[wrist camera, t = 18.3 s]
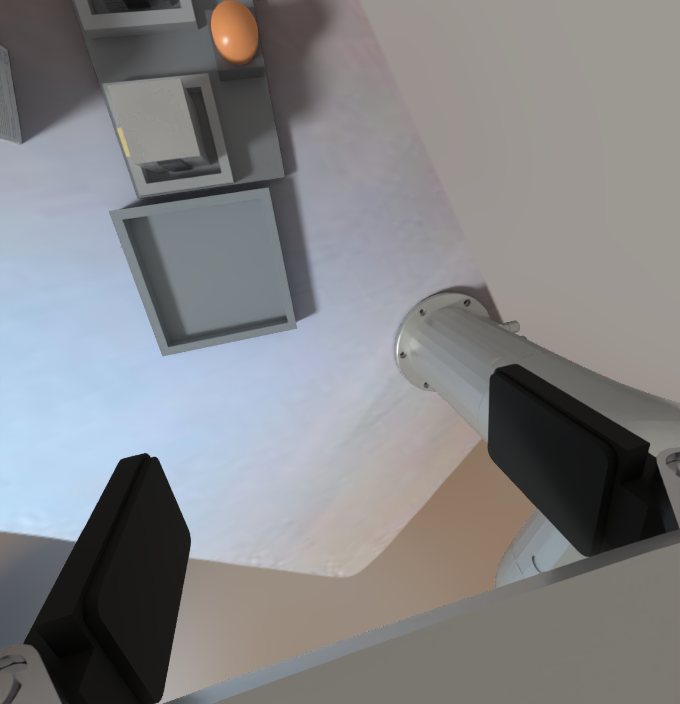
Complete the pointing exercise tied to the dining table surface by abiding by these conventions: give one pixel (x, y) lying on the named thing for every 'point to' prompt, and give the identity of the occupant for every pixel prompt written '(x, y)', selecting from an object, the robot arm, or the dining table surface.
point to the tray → (208, 269)
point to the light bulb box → (8, 103)
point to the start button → (234, 32)
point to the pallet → (201, 83)
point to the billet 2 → (160, 125)
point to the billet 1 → (135, 4)
